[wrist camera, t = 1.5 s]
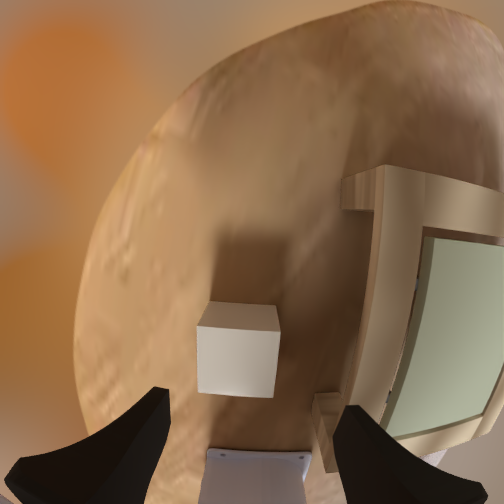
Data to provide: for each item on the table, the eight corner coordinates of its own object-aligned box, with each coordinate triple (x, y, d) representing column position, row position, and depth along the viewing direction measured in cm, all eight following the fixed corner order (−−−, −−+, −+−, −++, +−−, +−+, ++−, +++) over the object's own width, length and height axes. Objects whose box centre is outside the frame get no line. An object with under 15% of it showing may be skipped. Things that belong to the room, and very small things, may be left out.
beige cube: (208, 357, 20) (198, 392, 16) (209, 300, 20) (196, 325, 15) (270, 361, 20) (272, 397, 16) (275, 305, 20) (280, 331, 15)
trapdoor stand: (310, 411, 21) (325, 473, 14) (341, 178, 18) (384, 164, 11) (453, 393, 21) (489, 432, 14) (494, 207, 18) (551, 210, 11)
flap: (361, 410, 17) (375, 439, 13) (397, 231, 15) (426, 237, 12) (461, 392, 16) (481, 412, 13) (500, 244, 15) (530, 250, 12)
